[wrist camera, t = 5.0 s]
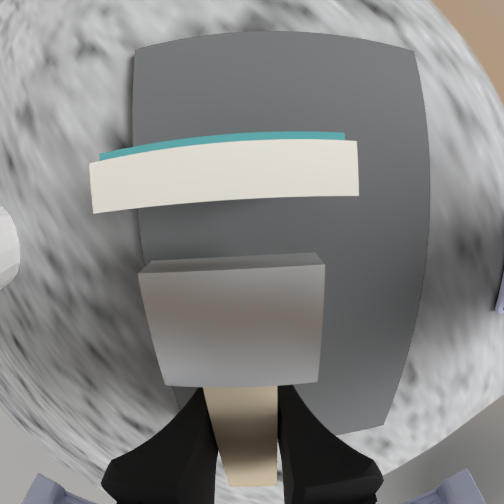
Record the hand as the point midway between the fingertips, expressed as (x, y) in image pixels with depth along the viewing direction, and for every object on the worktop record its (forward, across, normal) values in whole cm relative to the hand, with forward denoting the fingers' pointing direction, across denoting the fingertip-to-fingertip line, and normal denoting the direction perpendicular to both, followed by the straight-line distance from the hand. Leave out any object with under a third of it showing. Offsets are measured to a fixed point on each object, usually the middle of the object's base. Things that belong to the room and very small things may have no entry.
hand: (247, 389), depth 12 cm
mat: (+3, -2, -4) cm, 6 cm away
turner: (+2, 0, -1) cm, 2 cm away
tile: (+2, 0, -9) cm, 10 cm away
